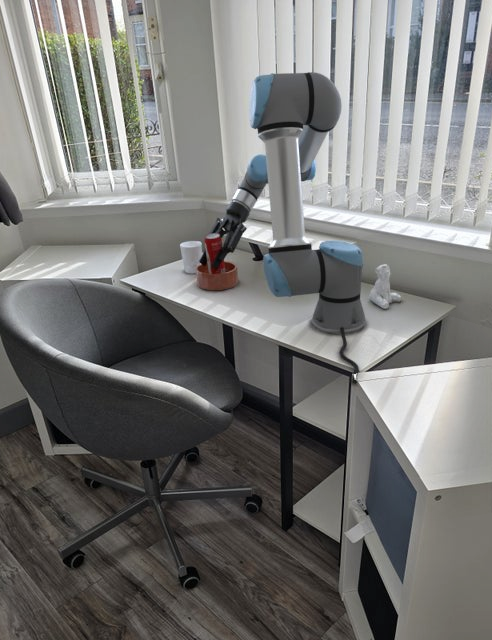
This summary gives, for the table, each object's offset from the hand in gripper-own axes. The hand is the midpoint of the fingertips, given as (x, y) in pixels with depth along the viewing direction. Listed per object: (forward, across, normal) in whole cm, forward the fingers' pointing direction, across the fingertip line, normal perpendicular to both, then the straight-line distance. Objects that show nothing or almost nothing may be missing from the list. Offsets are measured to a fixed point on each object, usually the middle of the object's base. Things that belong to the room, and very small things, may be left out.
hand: (207, 265), depth 183 cm
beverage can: (+1, 0, -6) cm, 7 cm away
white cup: (0, +18, -10) cm, 21 cm away
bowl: (+3, 0, -8) cm, 8 cm away
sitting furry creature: (-14, -53, -25) cm, 60 cm away
